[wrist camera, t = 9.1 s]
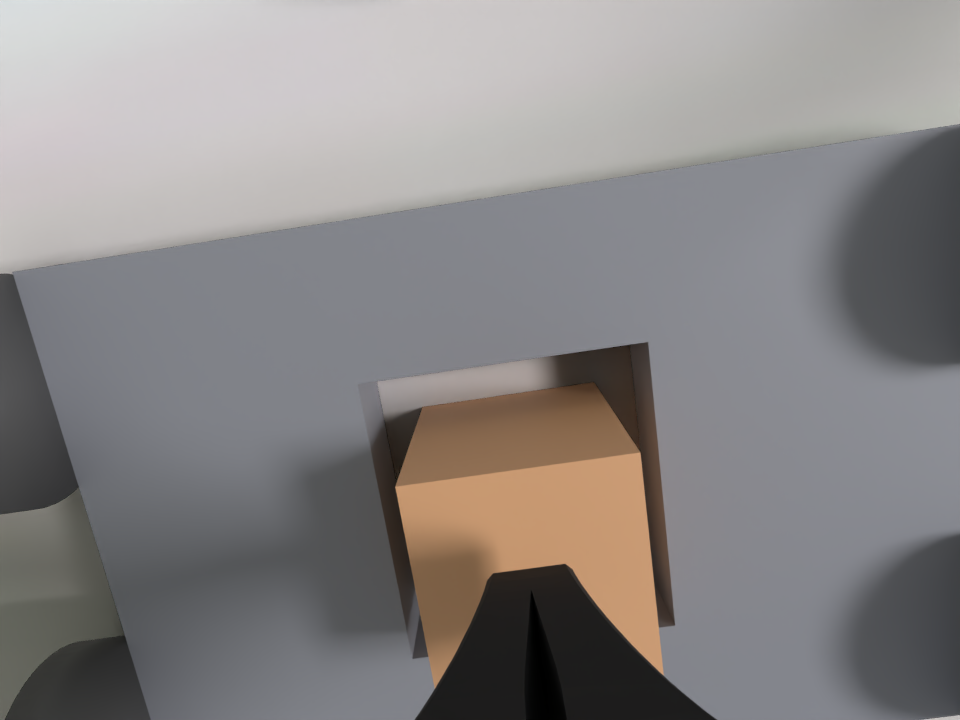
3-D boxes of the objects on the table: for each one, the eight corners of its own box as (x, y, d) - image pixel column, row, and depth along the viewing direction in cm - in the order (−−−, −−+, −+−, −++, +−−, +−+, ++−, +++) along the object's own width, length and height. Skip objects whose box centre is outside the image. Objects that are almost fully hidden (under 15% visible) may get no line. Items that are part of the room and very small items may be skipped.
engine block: (614, 558, 17) (665, 694, 12) (454, 580, 17) (441, 721, 12) (593, 381, 16) (640, 452, 11) (422, 406, 16) (395, 487, 11)
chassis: (975, 651, 17) (1165, 819, 13) (151, 752, 18) (30, 944, 14) (986, 122, 14) (1241, 73, 10) (1, 276, 15) (-222, 302, 11)
